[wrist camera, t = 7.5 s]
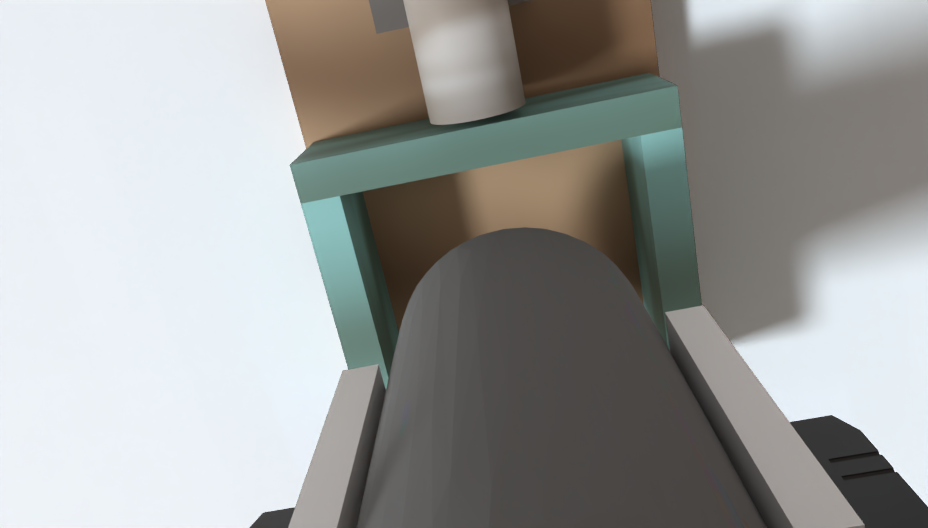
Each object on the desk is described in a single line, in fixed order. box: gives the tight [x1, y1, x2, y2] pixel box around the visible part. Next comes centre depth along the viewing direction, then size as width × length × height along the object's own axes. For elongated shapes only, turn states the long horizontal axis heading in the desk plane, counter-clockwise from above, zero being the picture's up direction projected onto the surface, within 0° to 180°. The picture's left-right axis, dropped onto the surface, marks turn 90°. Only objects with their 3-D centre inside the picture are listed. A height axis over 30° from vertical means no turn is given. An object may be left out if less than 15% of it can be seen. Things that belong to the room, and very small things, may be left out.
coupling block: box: [265, 0, 702, 389], centre depth 22 cm, size 19×10×5 cm, turn 12°
